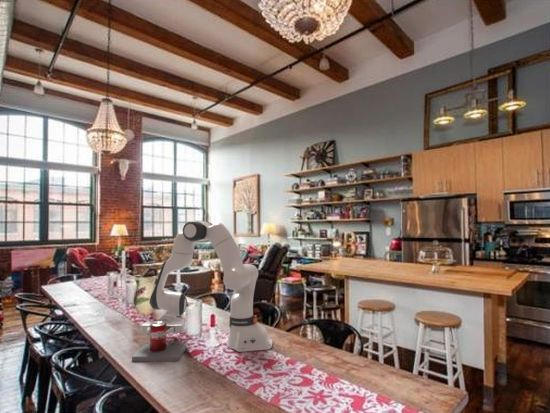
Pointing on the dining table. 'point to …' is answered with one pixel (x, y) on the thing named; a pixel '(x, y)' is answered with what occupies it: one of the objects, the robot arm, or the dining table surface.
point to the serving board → (160, 353)
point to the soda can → (158, 336)
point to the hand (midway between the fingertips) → (157, 332)
